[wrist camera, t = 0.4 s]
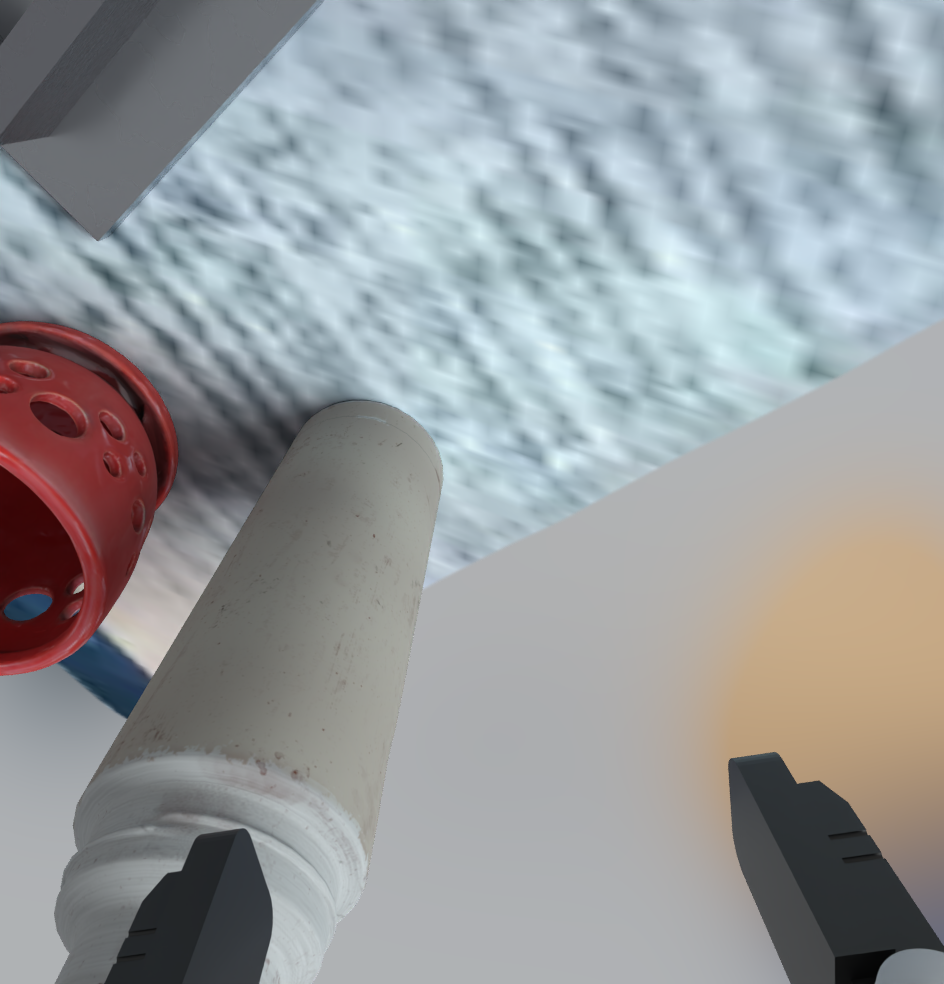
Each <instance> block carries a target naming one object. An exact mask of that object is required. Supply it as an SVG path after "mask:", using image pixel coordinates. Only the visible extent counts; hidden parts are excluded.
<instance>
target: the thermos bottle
mask: <svg viewBox="0 0 944 984" xmlns="http://www.w3.org/2000/svg"><path fill="white" fill-rule="evenodd" d="M442 483H443V465H442V461H441V457H440V454H439V451H438V449H437V447H436V445H435V443H434V441H433V439H432V438H431V437H430V435H429V434H428V433H427V432H426V430H425V429H424V428H423V427H422V426H421V425H420V424H419V423H418V422H417V421H415V420H414V419H413V418H412V417H411V416H409V415H407V414H406V413H404V412H402V411H401V410H399V409H397V408H394V407H391V406H389V405H386V404H383V403H378V402H373V401H347V402H342V403H337V404H334V405H332V406H329V407H327V408H324V409H322V410H321V411H320V412H318V413H317V414H315V415H314V416H312V417H311V418H310V419H309V420H308V421H307V422H306V423H305V424H304V425H303V427H302V428H301V430H300V431H299V433H298V435H297V436H296V438H295V440H294V441H293V443H292V445H291V446H290V448H289V450H288V451H287V453H286V455H285V456H284V458H283V460H282V461H281V463H280V465H279V466H278V468H277V470H276V471H275V473H274V475H273V476H272V478H271V480H270V481H269V483H268V485H267V486H266V488H265V490H264V491H263V493H262V495H261V496H260V498H259V500H258V501H257V503H256V505H255V507H254V508H253V510H252V512H251V513H250V515H249V517H248V518H247V520H246V522H245V523H244V525H243V527H242V528H241V530H240V532H239V533H238V535H237V537H236V538H235V540H234V542H233V543H232V545H231V547H230V548H229V550H228V552H227V553H226V555H225V557H224V558H223V560H222V562H221V563H220V565H219V567H218V568H217V570H216V572H215V573H214V575H213V577H212V578H211V580H210V582H209V583H208V585H207V587H206V589H205V590H204V592H203V594H202V595H201V597H200V599H199V600H198V602H197V604H196V605H195V607H194V609H193V610H192V612H191V614H190V615H189V617H188V619H187V620H186V622H185V624H184V625H183V627H182V629H181V630H180V632H179V634H178V635H177V637H176V639H175V640H174V642H173V644H172V645H171V647H170V649H169V650H168V652H167V654H166V655H165V657H164V659H163V660H162V662H161V664H160V666H159V667H158V669H157V671H156V672H155V674H154V676H153V677H152V679H151V681H150V682H149V684H148V686H147V687H146V689H145V691H144V692H143V694H142V696H141V697H140V699H139V701H138V702H137V704H136V706H135V707H134V709H133V711H132V712H131V714H130V716H129V717H128V719H127V721H126V722H125V724H124V726H123V728H122V729H121V731H120V732H119V734H118V736H117V737H116V739H115V741H114V742H113V744H112V746H111V748H110V750H109V751H108V753H107V754H106V756H105V758H104V759H103V761H102V763H101V764H100V766H99V768H98V769H97V771H96V773H95V774H94V776H93V778H92V779H91V781H90V783H89V785H88V786H87V788H86V790H85V791H84V793H83V795H82V797H81V799H80V800H79V802H78V804H77V807H76V812H75V817H74V823H73V829H74V836H75V843H76V847H77V849H78V852H77V853H76V854H75V855H74V856H72V858H71V860H70V861H69V863H68V865H67V866H66V868H65V870H64V873H63V878H62V884H61V891H60V893H59V895H58V897H57V902H56V907H55V912H54V916H55V922H56V927H57V932H58V934H59V936H60V938H61V940H62V942H63V944H64V946H65V947H66V949H67V950H68V952H69V953H70V954H69V956H68V958H67V960H66V962H65V964H64V966H63V968H62V970H61V972H60V974H59V976H58V978H57V980H56V982H55V984H104V983H105V981H106V979H107V977H108V974H109V972H110V970H111V968H112V966H113V964H116V962H117V958H116V957H117V955H118V953H119V951H120V949H121V946H122V944H123V942H124V940H125V938H128V935H129V933H128V931H129V929H130V927H131V925H132V923H133V920H134V918H135V916H136V914H137V912H138V910H139V908H140V905H141V903H142V901H143V900H144V899H145V898H146V897H147V895H148V894H149V893H150V892H151V891H152V890H153V888H154V887H155V886H156V885H157V884H158V883H159V882H160V880H161V879H162V878H163V877H164V876H165V875H166V874H167V873H170V872H177V871H181V870H182V868H183V865H184V863H185V861H186V858H187V856H188V854H189V851H190V849H191V847H192V844H193V842H194V840H195V839H196V837H197V836H199V835H201V834H206V833H213V832H220V831H227V830H233V829H240V828H245V829H246V830H247V831H248V832H249V834H250V836H251V839H252V842H253V845H254V848H255V851H256V854H257V857H258V860H259V863H260V866H261V869H262V872H263V875H264V878H265V881H266V884H267V887H268V890H269V893H270V896H271V901H272V908H273V928H272V935H271V940H270V944H269V948H268V952H267V956H266V959H265V963H264V967H263V971H262V975H261V979H260V982H259V984H312V983H313V982H314V980H315V978H316V976H317V974H318V972H319V971H320V968H321V965H322V961H323V956H324V952H325V951H326V950H327V948H328V946H329V944H330V943H331V941H332V938H333V937H334V935H335V930H336V924H337V922H339V921H340V920H342V919H343V918H344V917H345V916H346V915H347V914H348V913H349V912H350V911H351V909H353V908H354V907H355V905H356V904H357V902H358V900H359V898H360V896H361V894H362V892H363V891H364V888H365V885H366V880H367V875H368V870H369V865H370V859H371V854H372V849H373V844H374V838H375V832H376V827H377V821H378V815H379V809H380V803H381V797H382V791H383V785H384V779H385V773H386V768H387V762H388V758H389V753H390V749H391V744H392V740H393V736H394V732H395V728H396V723H397V718H398V713H399V708H400V703H401V698H402V692H403V687H404V682H405V677H406V672H407V666H408V661H409V656H410V650H411V645H412V640H413V635H414V629H415V625H416V619H417V614H418V609H419V604H420V599H421V594H422V588H423V583H424V578H425V573H426V567H427V562H428V557H429V552H430V547H431V541H432V536H433V531H434V526H435V521H436V515H437V510H438V505H439V500H440V494H441V489H442Z"/></svg>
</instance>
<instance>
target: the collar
mask: <svg viewBox="0 0 944 984" xmlns="http://www.w3.org/2000/svg"><path fill="white" fill-rule="evenodd" d="M323 1H324V0H0V146H1V147H2V148H4V149H5V150H6V151H7V152H8V153H9V154H10V155H11V156H12V157H13V158H14V159H15V160H16V161H17V162H18V163H19V164H20V165H21V166H22V167H23V168H24V169H25V170H26V171H27V172H28V173H29V174H30V175H31V176H32V177H33V178H34V179H35V180H36V181H37V182H38V183H39V184H40V185H41V186H42V187H43V188H44V189H45V190H46V191H47V192H48V193H49V194H50V195H51V196H52V197H53V198H54V199H55V200H56V201H57V202H58V203H59V204H60V205H61V206H62V207H63V208H64V209H65V210H66V211H67V212H68V213H69V214H70V215H71V216H72V217H73V218H74V219H76V220H77V221H78V222H79V223H80V224H81V225H82V226H83V227H84V228H85V229H86V230H87V231H88V232H89V233H90V234H91V235H92V236H93V237H94V238H95V239H96V240H97V241H100V240H103V239H105V238H107V237H109V236H110V235H111V234H112V233H113V231H114V230H115V229H116V228H117V227H118V226H119V225H120V224H121V223H122V222H123V221H124V219H125V218H126V217H127V216H128V215H129V214H130V213H131V212H132V211H133V210H134V208H135V207H136V206H137V205H138V204H139V203H140V202H141V201H142V200H143V199H144V198H145V196H146V195H147V194H148V193H149V192H150V191H151V190H152V189H153V188H154V187H155V185H156V184H157V183H158V182H159V181H160V180H161V179H162V178H163V177H164V176H165V175H166V173H167V172H168V171H169V170H170V169H171V168H172V167H173V166H174V165H175V164H176V162H177V161H178V160H179V159H180V158H181V157H182V156H183V155H184V154H185V153H186V151H187V150H188V149H189V148H190V147H191V146H192V145H193V144H194V143H195V142H196V141H197V139H198V138H199V137H200V136H201V135H202V134H203V133H204V132H205V131H206V130H207V128H208V127H209V126H210V125H211V124H212V123H213V122H214V121H215V120H216V119H217V118H218V116H219V115H220V114H221V113H222V112H223V111H224V110H225V109H226V108H227V107H228V105H229V104H230V103H231V102H232V101H233V100H234V99H235V98H236V97H237V96H238V95H239V93H240V92H241V91H242V90H243V89H244V88H245V87H246V86H247V85H248V84H249V82H250V81H251V80H252V79H253V78H254V77H255V76H256V75H257V74H258V73H259V72H260V70H261V69H262V68H263V67H264V66H265V65H266V64H267V63H268V62H269V61H270V59H271V58H272V57H273V56H274V55H275V54H276V53H277V52H278V51H279V50H280V49H281V47H282V46H283V45H284V44H285V43H286V42H287V41H288V40H289V39H290V38H291V36H292V35H293V34H294V33H295V32H296V31H297V30H298V29H299V28H300V27H301V26H302V24H303V23H304V22H305V21H306V20H307V19H308V18H309V17H310V16H311V15H312V13H313V12H314V11H315V10H316V9H317V8H318V7H319V6H320V5H321V4H322V3H323Z"/></svg>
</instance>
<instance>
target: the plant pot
mask: <svg viewBox="0 0 944 984" xmlns="http://www.w3.org/2000/svg"><path fill="white" fill-rule="evenodd" d="M177 465H178V443H177V436H176V432H175V428H174V425H173V422H172V419H171V417H170V414H169V412H168V410H167V408H166V406H165V404H164V402H163V400H162V398H161V397H160V395H159V393H158V392H157V391H156V389H155V388H154V387H153V385H152V384H151V383H150V381H149V380H148V379H147V378H146V377H145V375H144V374H143V373H142V372H141V371H140V370H139V369H138V368H137V367H136V366H135V365H133V364H132V363H131V362H130V361H129V360H128V359H126V358H125V357H124V356H123V355H121V354H120V353H119V352H117V351H116V350H114V349H113V348H111V347H110V346H108V345H107V344H105V343H103V342H101V341H100V340H98V339H96V338H93V337H92V336H90V335H88V334H85V333H83V332H80V331H78V330H75V329H72V328H68V327H64V326H60V325H56V324H51V323H44V322H33V321H17V322H7V323H1V324H0V676H3V675H14V674H22V673H28V672H33V671H37V670H40V669H43V668H46V667H49V666H51V665H53V664H55V663H57V662H59V661H61V660H63V659H65V658H66V657H68V656H70V655H71V654H73V653H75V652H76V651H77V650H78V649H79V648H81V647H82V646H83V645H84V644H85V643H86V642H87V641H88V640H89V639H90V637H91V636H92V635H93V634H94V632H95V631H96V630H97V628H98V627H99V626H100V624H101V623H102V621H103V620H104V619H105V617H106V616H107V614H108V613H109V611H110V610H111V608H112V607H113V605H114V604H115V602H116V601H117V599H118V598H119V596H120V595H121V593H122V591H123V590H124V588H125V586H126V584H127V583H128V581H129V579H130V577H131V575H132V573H133V571H134V569H135V566H136V563H137V561H138V558H139V554H140V551H141V549H142V546H143V544H144V542H145V539H146V537H147V535H148V533H149V530H150V528H151V524H152V521H153V517H154V512H155V510H156V509H157V508H158V507H159V506H160V505H161V504H162V503H163V501H164V500H165V498H166V497H167V495H168V493H169V491H170V490H171V487H172V484H173V482H174V479H175V475H176V470H177ZM83 582H84V589H83V590H82V591H81V592H79V593H76V594H73V593H74V591H75V590H76V588H77V587H78V586H79V585H80V584H82V583H83ZM27 594H44V595H47V596H50V597H51V598H52V600H53V601H52V604H51V605H50V607H49V608H48V609H47V610H46V611H45V612H43V613H42V614H40V615H39V616H37V617H35V618H33V619H30V620H25V621H15V620H11V619H9V618H8V617H6V616H5V614H4V609H5V607H6V606H7V604H9V603H10V602H11V601H12V600H14V599H16V598H18V597H20V596H23V595H27ZM80 608H81V609H80ZM79 609H80V611H79V612H78V613H77V614H76V615H74V616H73V617H71V616H72V615H73V614H74V613H75V612H76V611H78V610H79Z"/></svg>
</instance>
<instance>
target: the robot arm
mask: <svg viewBox="0 0 944 984" xmlns="http://www.w3.org/2000/svg"><path fill="white" fill-rule="evenodd" d="M728 770H729V786H730V801H731V816H732V831H733V839H734V844H735V849H736V853H737V857H738V860H739V863H740V866H741V869H742V872H743V875H744V877H745V879H746V882H747V884H748V886H749V889H750V891H751V893H752V895H753V898H754V900H755V902H756V905H757V907H758V909H759V912H760V914H761V916H762V919H763V921H764V923H765V925H766V927H767V930H768V932H769V935H770V937H771V939H772V942H773V944H774V946H775V949H776V951H777V953H778V955H779V958H780V960H781V962H782V965H783V967H784V969H785V971H786V974H787V976H788V978H789V981H790V983H791V984H944V946H943V944H942V943H941V941H940V940H939V938H938V937H937V935H936V934H935V932H934V931H933V929H932V928H931V926H930V925H929V923H928V922H927V920H926V919H925V917H924V916H923V914H922V913H921V911H920V910H919V908H918V907H917V905H916V904H915V902H914V901H913V899H912V898H911V896H910V895H909V893H908V892H907V890H906V889H905V887H904V886H903V884H902V883H901V881H900V880H899V878H898V877H897V876H896V874H895V872H894V871H893V869H892V868H891V866H890V865H889V863H888V862H887V860H886V859H883V857H882V854H881V851H880V850H879V848H878V847H877V845H876V844H875V842H874V841H873V839H872V838H871V836H870V835H867V832H866V829H865V827H864V826H863V824H862V823H861V821H860V820H859V818H858V817H857V815H856V814H855V812H854V811H853V809H852V808H851V806H850V805H849V803H848V802H847V801H845V800H844V799H843V798H841V797H840V796H839V795H837V794H836V793H835V792H833V791H832V790H831V789H829V788H828V787H827V786H825V785H824V784H823V783H821V782H820V781H813V782H806V783H799V784H797V783H796V781H795V780H794V778H793V777H792V775H791V773H790V771H789V770H788V768H787V766H786V765H785V763H784V761H783V760H782V758H781V757H780V755H779V754H778V753H776V752H772V753H765V754H758V755H751V756H745V757H738V758H731V759H730V760H729V764H728ZM272 928H273V908H272V901H271V896H270V893H269V890H268V887H267V884H266V881H265V878H264V875H263V872H262V869H261V866H260V863H259V860H258V857H257V854H256V851H255V848H254V845H253V842H252V839H251V836H250V834H249V832H248V831H247V830H246V829H245V828H240V829H233V830H227V831H220V832H213V833H206V834H201V835H199V836H197V837H196V839H195V840H194V842H193V844H192V847H191V849H190V851H189V854H188V856H187V858H186V861H185V863H184V865H183V868H182V870H181V871H177V872H170V873H167V874H166V875H165V876H164V877H163V878H162V879H161V880H160V882H159V883H158V884H157V885H156V886H155V887H154V888H153V890H152V891H151V892H150V893H149V894H148V895H147V897H146V898H145V899H144V900H143V901H142V903H141V905H140V908H139V910H138V912H137V914H136V916H135V918H134V920H133V923H132V925H131V927H130V929H129V931H128V933H129V935H128V938H125V940H124V942H123V944H122V946H121V949H120V951H119V953H118V955H117V957H116V958H117V962H116V964H113V966H112V968H111V970H110V972H109V974H108V977H107V979H106V981H105V983H104V984H259V982H260V979H261V975H262V971H263V967H264V963H265V959H266V956H267V952H268V948H269V944H270V940H271V935H272Z"/></svg>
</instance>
